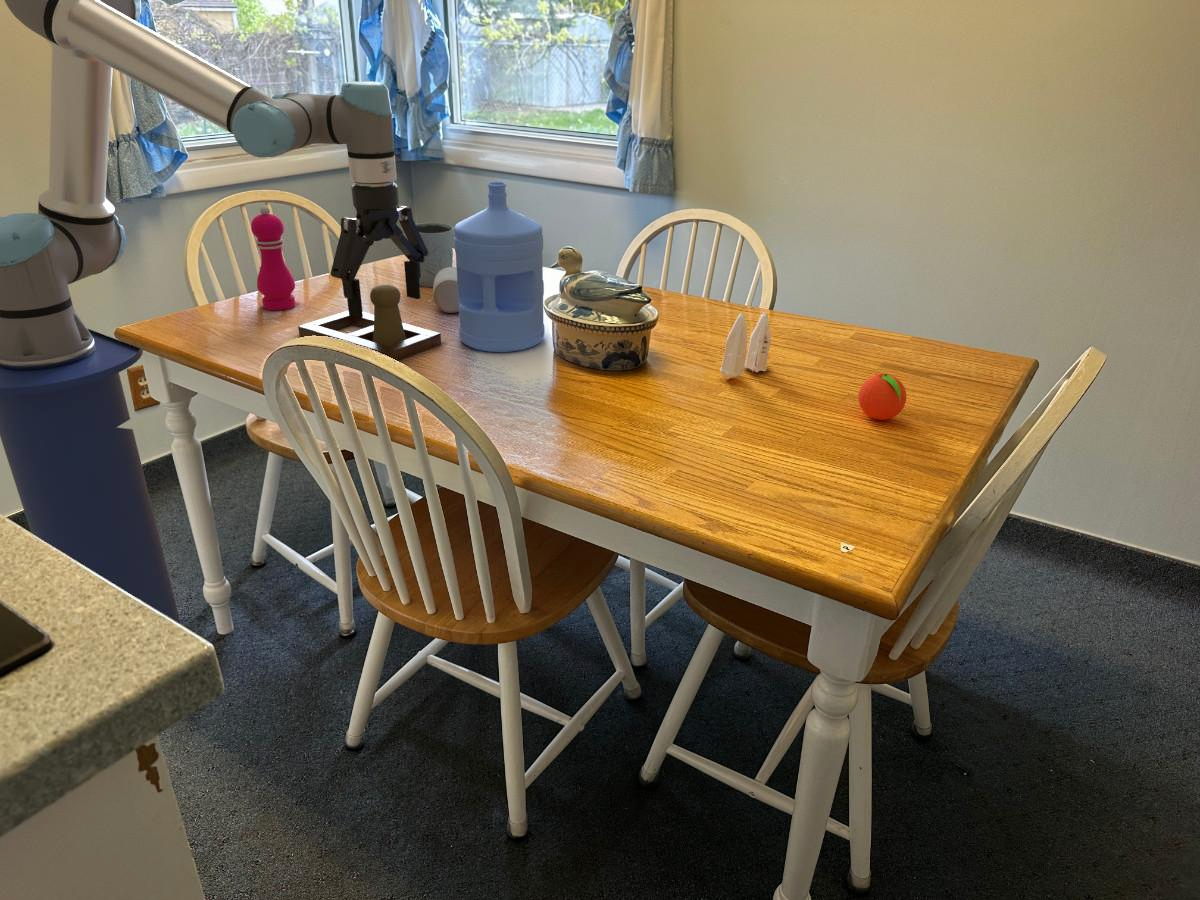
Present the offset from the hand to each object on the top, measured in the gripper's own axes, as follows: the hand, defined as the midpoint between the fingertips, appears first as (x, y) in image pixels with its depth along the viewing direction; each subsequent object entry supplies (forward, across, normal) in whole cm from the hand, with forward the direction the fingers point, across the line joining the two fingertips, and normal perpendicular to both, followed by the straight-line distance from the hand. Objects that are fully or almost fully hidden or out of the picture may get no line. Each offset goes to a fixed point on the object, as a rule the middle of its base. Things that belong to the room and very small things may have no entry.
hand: (385, 306), depth 155 cm
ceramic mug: (+8, +24, +5) cm, 26 cm away
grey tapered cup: (+8, +35, +23) cm, 43 cm away
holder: (+7, 0, +5) cm, 9 cm away
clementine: (+7, +22, -83) cm, 86 cm away
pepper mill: (+8, +3, +35) cm, 36 cm away
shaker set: (+7, +26, -58) cm, 64 cm away
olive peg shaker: (+8, 0, 0) cm, 8 cm away
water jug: (+8, +15, -14) cm, 22 cm away
